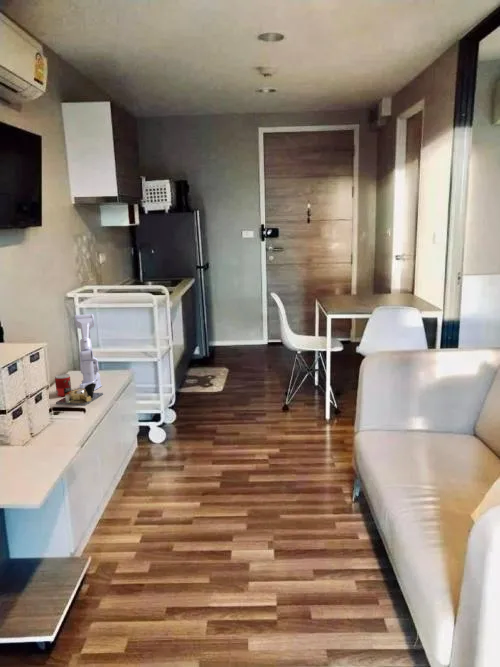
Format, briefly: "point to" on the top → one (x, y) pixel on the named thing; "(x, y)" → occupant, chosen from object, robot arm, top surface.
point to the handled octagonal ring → (80, 395)
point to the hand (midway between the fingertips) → (90, 397)
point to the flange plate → (69, 401)
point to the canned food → (63, 384)
